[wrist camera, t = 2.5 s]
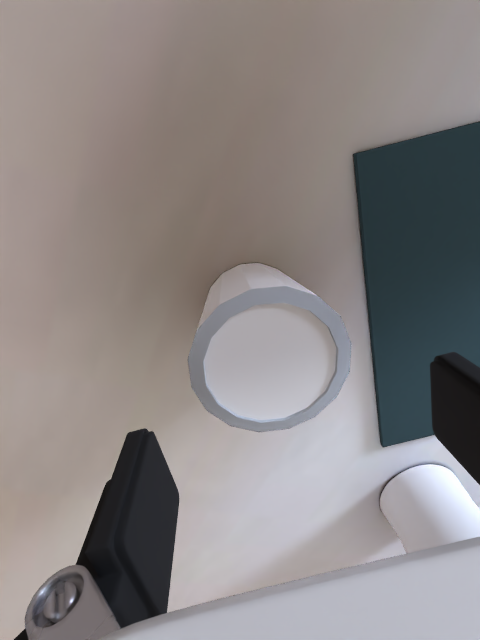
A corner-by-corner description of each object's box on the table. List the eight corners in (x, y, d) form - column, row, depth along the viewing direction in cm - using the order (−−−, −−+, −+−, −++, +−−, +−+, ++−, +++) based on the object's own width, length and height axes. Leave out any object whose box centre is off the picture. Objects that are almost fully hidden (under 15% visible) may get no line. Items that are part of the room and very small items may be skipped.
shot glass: (329, 286, 20) (386, 335, 14) (269, 375, 22) (294, 454, 16) (230, 229, 19) (241, 253, 12) (174, 330, 20) (158, 398, 14)
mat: (380, 443, 25) (382, 447, 25) (353, 154, 18) (356, 153, 17) (550, 401, 25) (555, 405, 25) (597, 91, 17) (606, 89, 17)
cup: (506, 476, 28) (749, 717, 15) (414, 552, 30) (556, 809, 18) (422, 421, 25) (638, 663, 12) (328, 510, 27) (428, 784, 15)
